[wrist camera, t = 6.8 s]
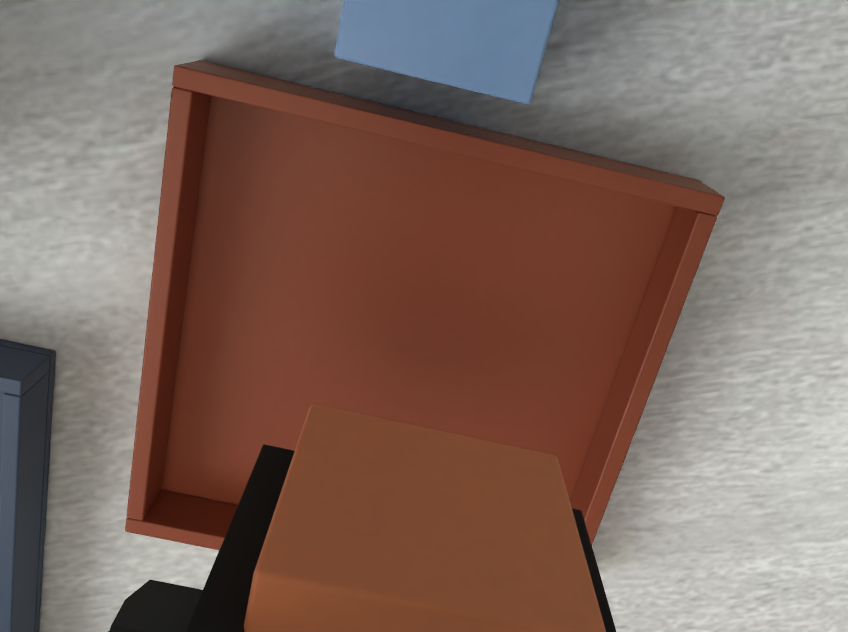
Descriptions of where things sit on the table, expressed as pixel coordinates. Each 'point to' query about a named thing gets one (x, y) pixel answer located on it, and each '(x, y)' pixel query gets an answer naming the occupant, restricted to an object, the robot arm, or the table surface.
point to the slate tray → (23, 480)
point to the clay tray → (393, 290)
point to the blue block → (451, 41)
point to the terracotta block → (419, 536)
